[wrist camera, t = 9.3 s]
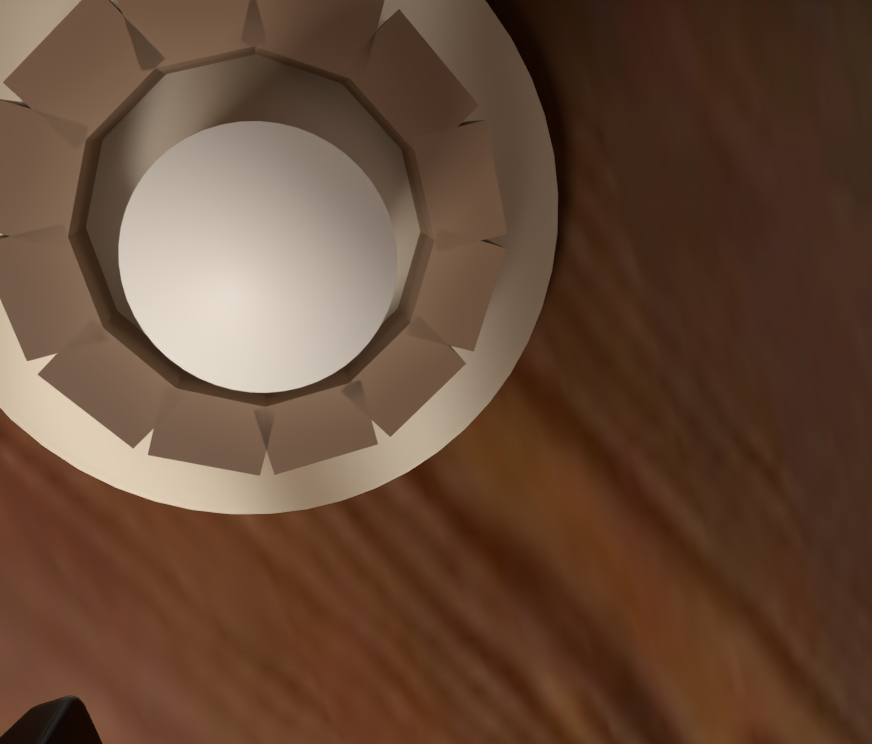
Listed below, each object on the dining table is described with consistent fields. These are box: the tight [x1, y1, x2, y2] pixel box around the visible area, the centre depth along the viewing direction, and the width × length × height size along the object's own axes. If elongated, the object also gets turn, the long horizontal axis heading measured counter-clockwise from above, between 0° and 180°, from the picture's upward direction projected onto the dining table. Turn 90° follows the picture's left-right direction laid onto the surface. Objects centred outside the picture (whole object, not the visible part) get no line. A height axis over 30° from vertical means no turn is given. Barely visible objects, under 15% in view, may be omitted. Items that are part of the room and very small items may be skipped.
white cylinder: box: [118, 121, 398, 393], centre depth 15 cm, size 4×4×5 cm
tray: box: [0, 0, 558, 514], centre depth 17 cm, size 14×14×2 cm
